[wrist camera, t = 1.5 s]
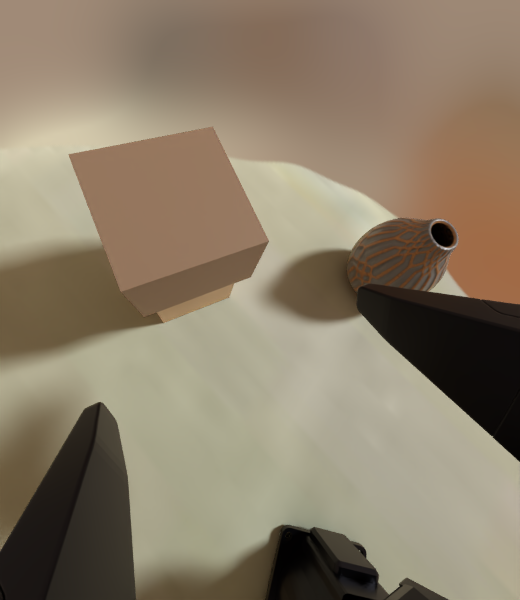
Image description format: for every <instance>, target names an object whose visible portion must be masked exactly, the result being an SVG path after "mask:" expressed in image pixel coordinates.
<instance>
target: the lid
mask: <svg viewBox="0 0 520 600" xmlns="http://www.w3.org/2000/svg"><path fill="white" fill-rule="evenodd" d="M69 157H70V160H71V162H72V165H73V168H74V170H75V173H76V176H77V178H78V181H79V184H80V186H81V189H82V191H83V194H84V197H85V199H86V202H87V205H88V207H89V210H90V212H91V215H92V218H93V220H94V223H95V226H96V228H97V231H98V233H99V236H100V239H101V241H102V244H103V247H104V249H105V252H106V255H107V257H108V260H109V262H110V265H111V268H112V270H113V273H114V276H115V278H116V281H117V283H118V286H119V289H120V291H121V293H122V294H123V295H124V296H125V297H126V298H127V299H128V300H129V301H130V302H131V304H132V305H133V306H134V307H135V308H136V309H137V310H138V311H139V312H140V313H141V314H142V315H143V316H144V317H146V316H149V315H151V314H154V313H157V312H159V311H162V310H165V309H167V308H170V307H173V306H175V305H178V304H180V303H183V302H186V301H188V300H191V299H194V298H196V297H199V296H202V295H204V294H207V293H210V292H212V291H215V290H218V289H220V288H223V287H226V286H228V285H231V284H234V283H236V282H239V281H241V280H244V279H247V278H249V277H251V275H252V273H253V271H254V269H255V268H256V266H257V264H258V262H259V260H260V258H261V256H262V254H263V252H264V250H265V248H266V246H267V244H268V242H269V240H268V238H267V236H266V234H265V232H264V230H263V228H262V226H261V224H260V222H259V220H258V218H257V216H256V214H255V212H254V210H253V208H252V206H251V204H250V202H249V200H248V198H247V196H246V194H245V191H244V189H243V187H242V185H241V183H240V181H239V179H238V177H237V175H236V173H235V171H234V169H233V167H232V165H231V163H230V161H229V159H228V157H227V155H226V153H225V151H224V149H223V147H222V145H221V143H220V140H219V138H218V137H217V135H216V132H215V130H214V129H213V127H209V128H204V129H199V130H194V131H188V132H183V133H178V134H173V135H167V136H162V137H157V138H152V139H147V140H141V141H137V142H132V143H126V144H121V145H115V146H110V147H105V148H100V149H95V150H89V151H84V152H79V153H74V154H69Z"/></svg>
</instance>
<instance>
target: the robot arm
mask: <svg viewBox="0 0 520 600" xmlns="http://www.w3.org/2000/svg"><path fill="white" fill-rule="evenodd" d="M357 308H358V310H359V312H360V313H361V314H362V315H363V316H364V317H365V318H366V319H367V320H368V322H369V323H370V324H371V325H372V326H373V327H374V328H375V329H376V330H377V331H378V333H379V334H380V335H381V336H382V337H383V338H384V339H385V340H386V341H387V342H388V343H389V344H390V345H391V346H392V347H394V348H395V349H396V350H397V351H398V352H399V353H400V354H401V355H402V356H404V357H405V358H406V359H407V360H408V361H409V362H410V363H411V364H412V365H413V366H415V367H416V368H417V369H418V370H419V371H420V372H421V373H422V374H423V375H425V376H426V377H427V378H428V379H429V380H430V381H431V382H432V383H433V384H435V385H436V386H437V387H438V388H439V389H440V390H441V391H442V392H443V393H444V394H446V395H447V396H448V397H449V398H450V399H451V400H452V401H453V402H454V403H456V404H457V405H458V406H459V407H460V408H461V409H462V410H463V411H464V412H465V413H467V414H468V415H469V416H470V417H471V418H472V419H473V420H474V421H475V422H477V423H478V424H479V425H480V426H481V427H482V428H483V429H484V430H485V431H486V432H488V433H489V434H490V435H491V436H493V438H494V439H495V440H496V441H497V442H498V443H500V444H501V445H502V446H503V447H504V448H505V449H506V450H507V451H508V452H509V453H511V454H512V455H513V456H514V457H515V458H516V459H517V460H518V461H519V462H520V304H511V303H503V302H496V301H490V300H480V299H475V298H468V297H462V296H455V295H448V294H441V293H434V292H427V291H420V290H413V289H406V288H399V287H392V286H386V285H379V284H372V283H367V284H365V285H362V286H360V287H359V288H358V291H357ZM287 532H290V536H289V537H285V535H286V533H287ZM359 550H360V551H359ZM378 579H379V574H378V572H377V571H376V569H375V568H374V567H373V565H372V564H371V563H370V562H369V561H368V560H367V559H366V550H365V549H364V547H363V546H362V545H361V544H359V543H356V542H353V541H350V540H349V539H348V538H347V537H346V536H345V535H343V534H339V533H336V532H332V531H328V530H324V529H320V528H316V527H313V528H312V529H310V530H306V529H302V528H299V527H295V526H291V525H285V526H283V527H282V529H281V531H280V536H279V540H278V545H277V549H276V554H275V558H274V563H273V567H272V572H271V576H270V581H269V585H268V590H267V594H266V599H265V600H448V599H446V598H444V597H442V596H440V595H439V594H437V593H435V592H433V591H431V590H429V589H427V588H425V587H424V586H422V585H420V584H418V583H416V582H414V581H412V580H410V579H408V578H405V579H404V580H403V581H402V582H400V583H399V585H400V587H398V588H397V589H396V590H395V591H394V592H392V593H391V594H390V595H389V594H388V593H387V592H386V591H385V590H384V588H383V587H382V586H381V585H380V584H379V583H378ZM0 600H136V593H135V578H134V562H133V547H132V532H131V517H130V502H129V487H128V476H127V471H126V465H125V460H124V455H123V450H122V445H121V440H120V434H119V429H118V425H117V422H116V420H115V418H114V417H113V415H112V414H111V413H110V411H109V410H108V409H107V407H106V406H105V405H104V404H103V403H102V402H98V403H96V404H94V405H91V406H89V407H87V408H85V409H84V411H83V412H82V414H81V416H80V417H79V419H78V421H77V422H76V424H75V426H74V427H73V429H72V431H71V432H70V434H69V436H68V438H67V439H66V441H65V443H64V444H63V446H62V448H61V449H60V451H59V453H58V455H57V456H56V458H55V460H54V461H53V463H52V465H51V466H50V468H49V470H48V471H47V473H46V475H45V477H44V478H43V480H42V482H41V483H40V485H39V487H38V488H37V490H36V492H35V493H34V495H33V497H32V499H31V500H30V502H29V504H28V505H27V507H26V509H25V510H24V512H23V514H22V515H21V517H20V519H19V521H18V522H17V524H16V526H15V527H14V529H13V531H12V532H11V534H10V536H9V538H8V539H7V541H6V543H5V544H4V546H3V548H2V549H1V551H0Z"/></svg>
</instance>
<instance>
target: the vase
mask: <svg viewBox="0 0 520 600" xmlns="http://www.w3.org/2000/svg"><path fill="white" fill-rule="evenodd" d="M457 244H458V234H457V232H456V230H455V228H454V227H453V226H452V225H451V224H450V223H449V222H448V221H446V220H443V219H431V220H420V219H414V218H398V219H393V220H389V221H386V222H384V223H381V224H379V225H377V226H375V227H374V228H372V229H370V230H369V231H368V232H367V233H365V234H364V235H363V236H362V237H361V238H360V239H359V240H358V242H357V243H356V244H355V246H354V247H353V249H352V251H351V253H350V255H349V258H348V263H347V275H348V279H349V281H350V284H351V286H352V287H353V289H354V290H355V291H356V293H357V291H358V288H359V287H360V286H362V285H365V284H367V283H372V284H379V285H386V286H392V287H399V288H406V289H413V290H420V291H427V292H429V291H430V290H431V289H432V288H434V287H435V286H436V284H437V283H438V282H439V281H440V280H441V278H442V277H443V275H444V273H445V271H446V268H447V265H448V261H449V258H450V255H451V253H452V252H453V250H454V249H455V248H456V246H457Z"/></svg>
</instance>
